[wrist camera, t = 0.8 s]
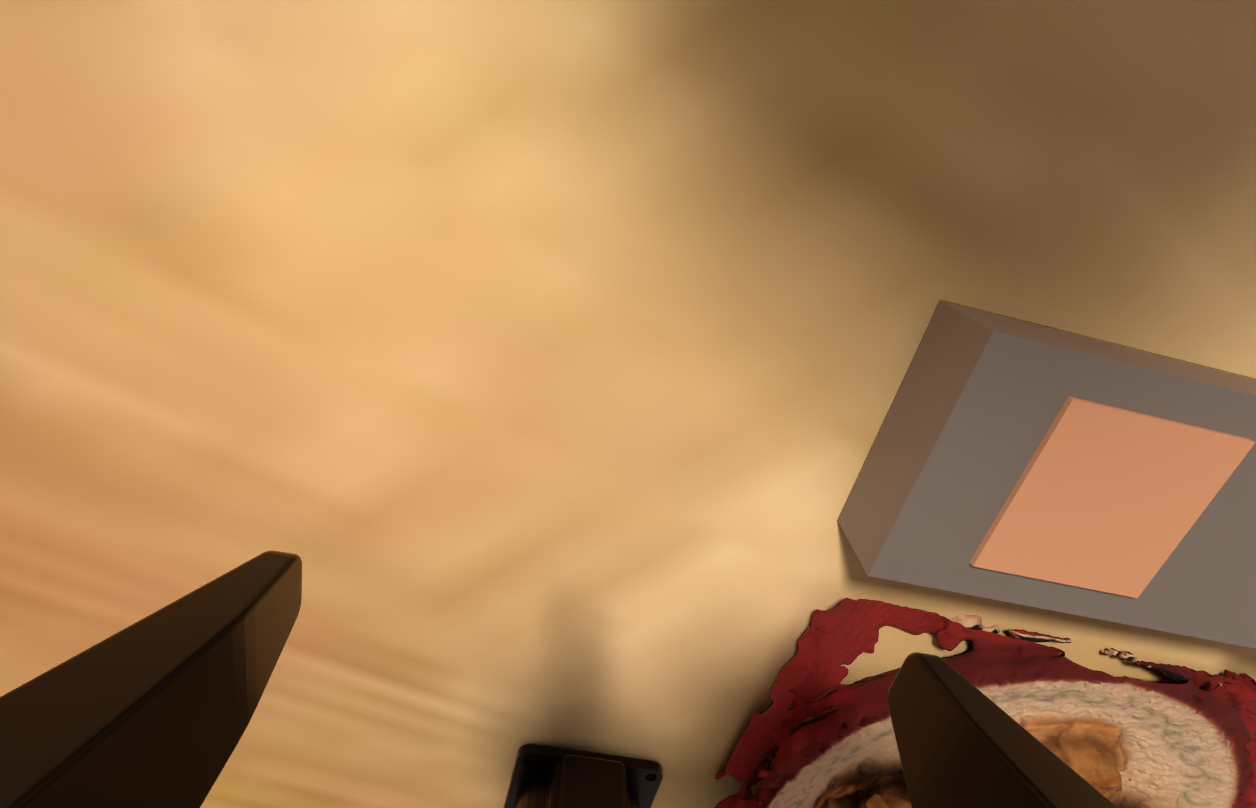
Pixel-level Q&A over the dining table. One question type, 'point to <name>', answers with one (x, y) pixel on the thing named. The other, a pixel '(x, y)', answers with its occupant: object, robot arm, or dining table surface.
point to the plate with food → (1023, 688)
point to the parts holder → (1065, 479)
